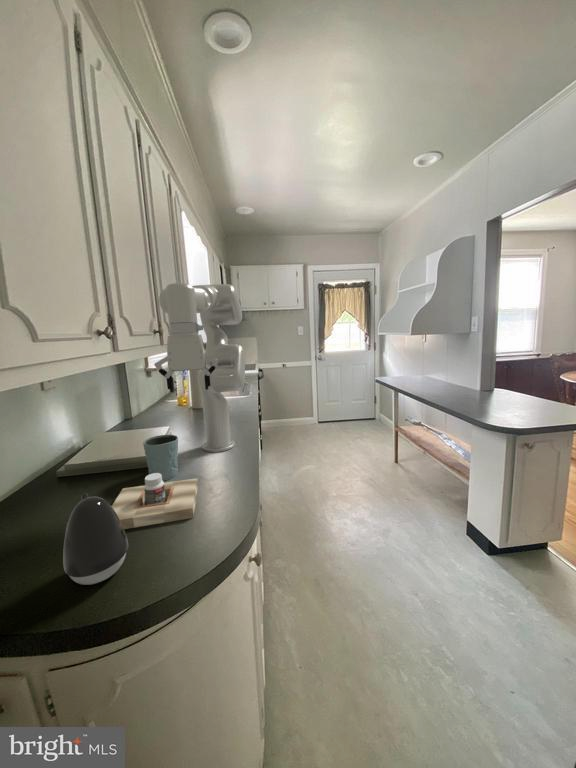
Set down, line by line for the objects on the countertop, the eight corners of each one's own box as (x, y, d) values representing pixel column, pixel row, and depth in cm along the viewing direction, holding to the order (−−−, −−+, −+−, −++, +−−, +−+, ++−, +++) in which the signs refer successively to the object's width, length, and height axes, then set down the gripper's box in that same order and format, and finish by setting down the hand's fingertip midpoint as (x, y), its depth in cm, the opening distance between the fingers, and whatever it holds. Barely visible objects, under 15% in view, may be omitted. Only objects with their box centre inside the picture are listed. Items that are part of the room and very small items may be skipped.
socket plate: (124, 496, 84) (122, 487, 84) (198, 486, 88) (197, 477, 88) (102, 532, 69) (101, 522, 68) (193, 517, 73) (192, 507, 72)
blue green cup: (140, 481, 93) (135, 444, 91) (161, 467, 103) (157, 433, 101) (168, 483, 90) (164, 445, 88) (187, 469, 100) (184, 434, 98)
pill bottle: (159, 512, 76) (155, 481, 74) (142, 510, 77) (138, 480, 75) (170, 502, 80) (166, 472, 79) (154, 500, 81) (150, 471, 80)
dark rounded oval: (122, 545, 64) (112, 479, 62) (137, 571, 57) (127, 497, 54) (63, 572, 57) (49, 499, 55) (72, 606, 50) (57, 523, 47)
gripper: (215, 329, 89) (220, 385, 92) (153, 331, 85) (160, 390, 88) (215, 328, 82) (220, 390, 85) (147, 331, 78) (155, 395, 81)
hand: (189, 390), depth 86 cm, fingers open, 9 cm apart
